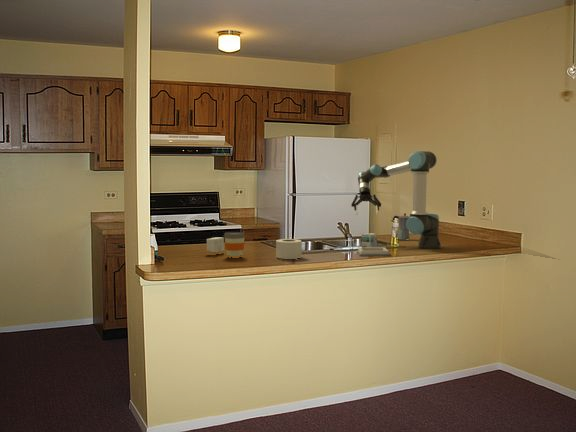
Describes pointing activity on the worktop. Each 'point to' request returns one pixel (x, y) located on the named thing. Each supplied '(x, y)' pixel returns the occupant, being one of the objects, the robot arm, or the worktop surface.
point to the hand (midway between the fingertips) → (367, 213)
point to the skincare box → (215, 244)
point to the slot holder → (372, 251)
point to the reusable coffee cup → (234, 243)
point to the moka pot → (402, 227)
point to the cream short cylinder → (289, 248)
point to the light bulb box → (369, 240)
